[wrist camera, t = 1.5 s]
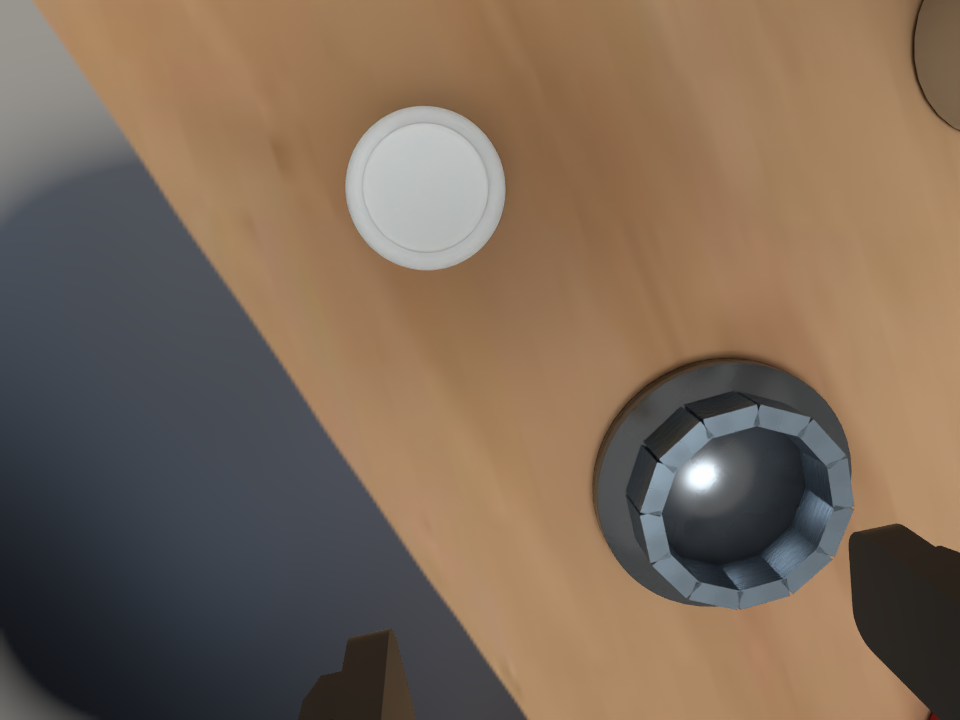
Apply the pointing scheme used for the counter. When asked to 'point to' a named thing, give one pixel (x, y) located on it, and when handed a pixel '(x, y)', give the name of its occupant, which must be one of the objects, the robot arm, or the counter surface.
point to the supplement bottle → (425, 188)
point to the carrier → (724, 484)
